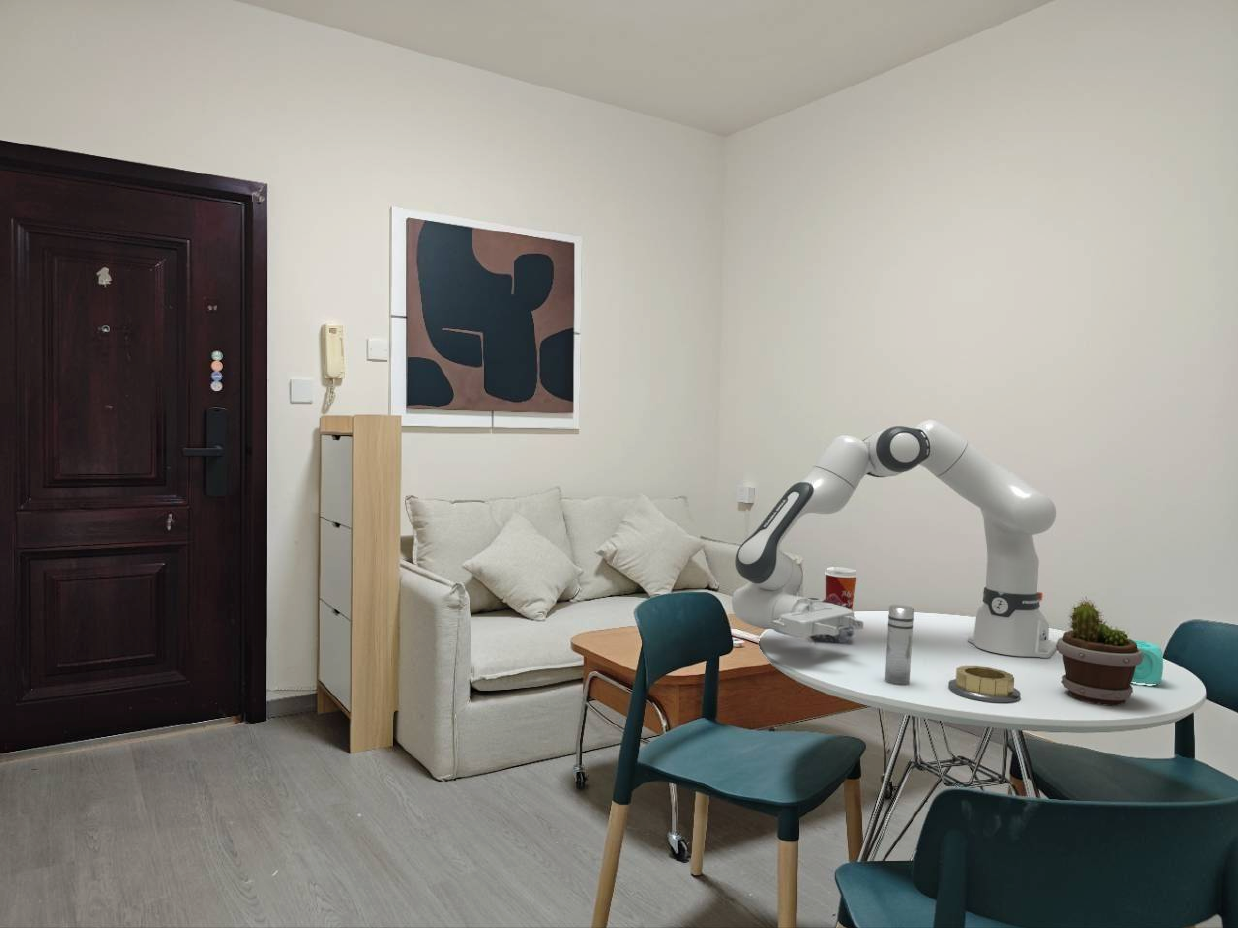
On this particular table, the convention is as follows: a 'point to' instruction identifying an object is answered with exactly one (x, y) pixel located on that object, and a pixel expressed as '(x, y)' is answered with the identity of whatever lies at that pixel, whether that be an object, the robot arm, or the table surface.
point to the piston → (899, 644)
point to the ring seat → (984, 684)
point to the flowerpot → (1097, 658)
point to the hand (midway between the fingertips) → (849, 628)
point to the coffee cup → (841, 584)
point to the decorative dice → (1149, 664)
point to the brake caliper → (843, 633)
